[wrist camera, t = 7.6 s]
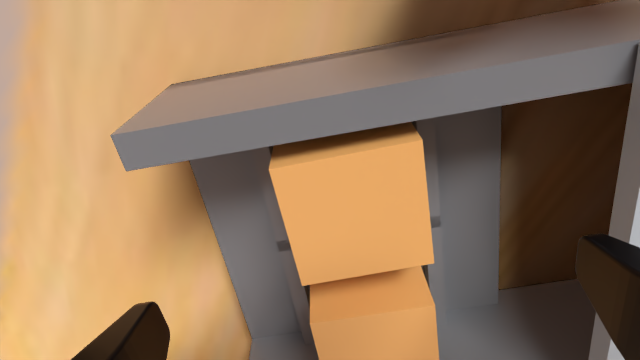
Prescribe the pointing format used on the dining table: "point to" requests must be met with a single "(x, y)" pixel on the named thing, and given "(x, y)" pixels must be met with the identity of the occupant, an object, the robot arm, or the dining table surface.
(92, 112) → the dining table surface
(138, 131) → the housing
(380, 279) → the orange block
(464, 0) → the dining table surface
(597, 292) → the robot arm
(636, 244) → the lid
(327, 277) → the orange cube
